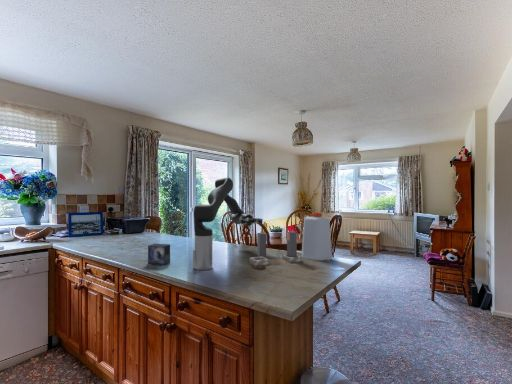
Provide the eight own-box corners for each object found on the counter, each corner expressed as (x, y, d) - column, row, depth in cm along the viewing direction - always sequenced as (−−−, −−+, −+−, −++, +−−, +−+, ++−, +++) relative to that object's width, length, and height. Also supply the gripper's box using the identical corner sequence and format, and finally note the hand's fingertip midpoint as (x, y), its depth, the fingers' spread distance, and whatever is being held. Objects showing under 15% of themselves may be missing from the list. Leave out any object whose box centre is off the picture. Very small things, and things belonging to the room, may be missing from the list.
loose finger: (259, 261, 160) (259, 233, 160) (257, 260, 164) (257, 232, 164) (267, 260, 162) (267, 233, 162) (264, 259, 166) (264, 232, 166)
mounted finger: (289, 261, 155) (289, 232, 155) (286, 259, 158) (286, 231, 159) (296, 260, 156) (296, 232, 156) (293, 259, 160) (293, 231, 160)
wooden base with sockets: (255, 268, 145) (255, 261, 145) (249, 264, 153) (249, 257, 153) (302, 264, 155) (302, 256, 155) (294, 260, 163) (294, 253, 163)
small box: (147, 264, 153) (147, 245, 153) (154, 261, 159) (154, 243, 159) (164, 265, 150) (164, 246, 150) (170, 262, 157) (170, 244, 157)
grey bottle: (318, 263, 156) (319, 213, 156) (298, 258, 167) (298, 212, 168) (334, 259, 165) (334, 212, 166) (314, 255, 177) (314, 211, 177)
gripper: (236, 214, 186) (244, 216, 171) (256, 213, 191) (265, 215, 176) (236, 225, 186) (244, 228, 171) (256, 224, 191) (265, 227, 176)
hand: (255, 222), depth 173 cm, fingers open, 8 cm apart
